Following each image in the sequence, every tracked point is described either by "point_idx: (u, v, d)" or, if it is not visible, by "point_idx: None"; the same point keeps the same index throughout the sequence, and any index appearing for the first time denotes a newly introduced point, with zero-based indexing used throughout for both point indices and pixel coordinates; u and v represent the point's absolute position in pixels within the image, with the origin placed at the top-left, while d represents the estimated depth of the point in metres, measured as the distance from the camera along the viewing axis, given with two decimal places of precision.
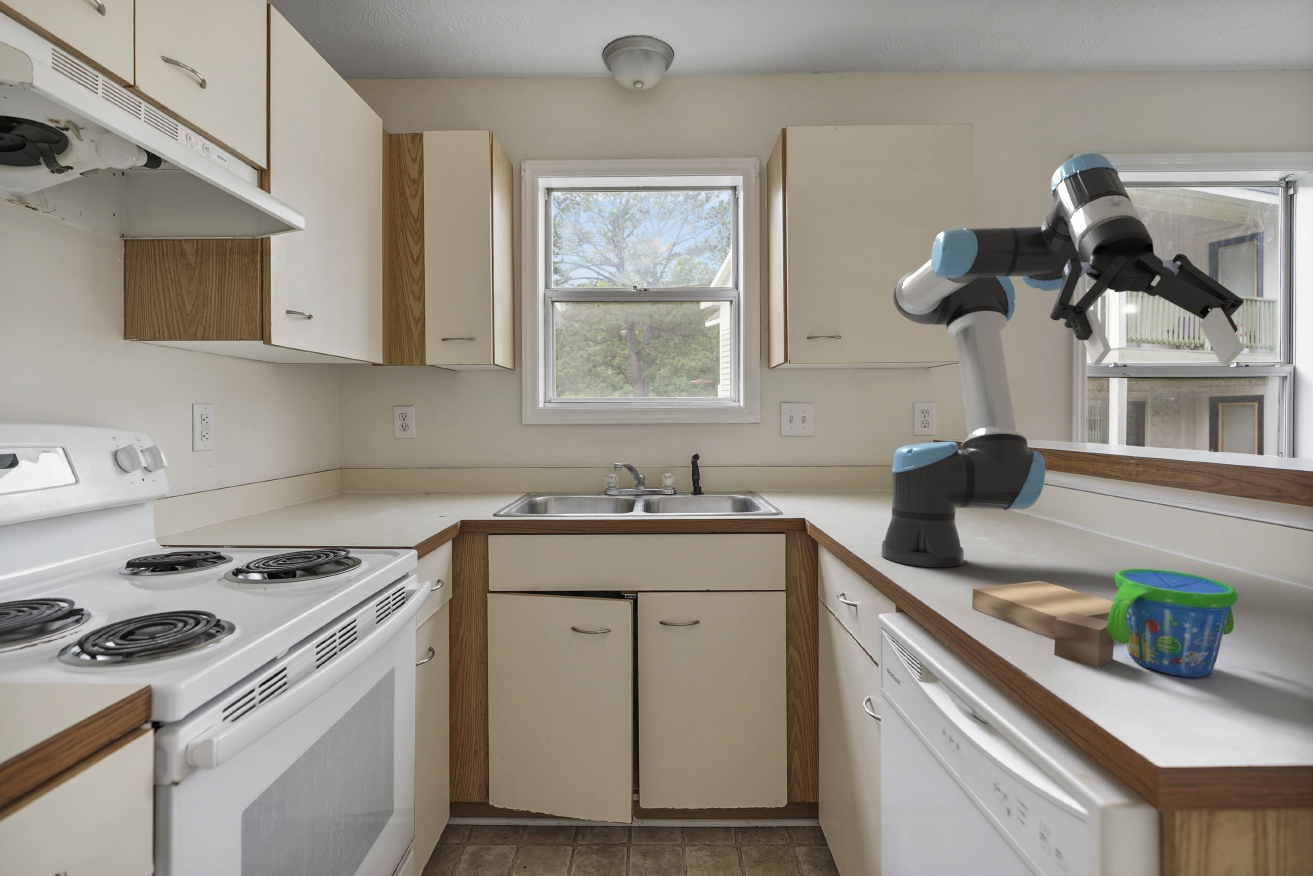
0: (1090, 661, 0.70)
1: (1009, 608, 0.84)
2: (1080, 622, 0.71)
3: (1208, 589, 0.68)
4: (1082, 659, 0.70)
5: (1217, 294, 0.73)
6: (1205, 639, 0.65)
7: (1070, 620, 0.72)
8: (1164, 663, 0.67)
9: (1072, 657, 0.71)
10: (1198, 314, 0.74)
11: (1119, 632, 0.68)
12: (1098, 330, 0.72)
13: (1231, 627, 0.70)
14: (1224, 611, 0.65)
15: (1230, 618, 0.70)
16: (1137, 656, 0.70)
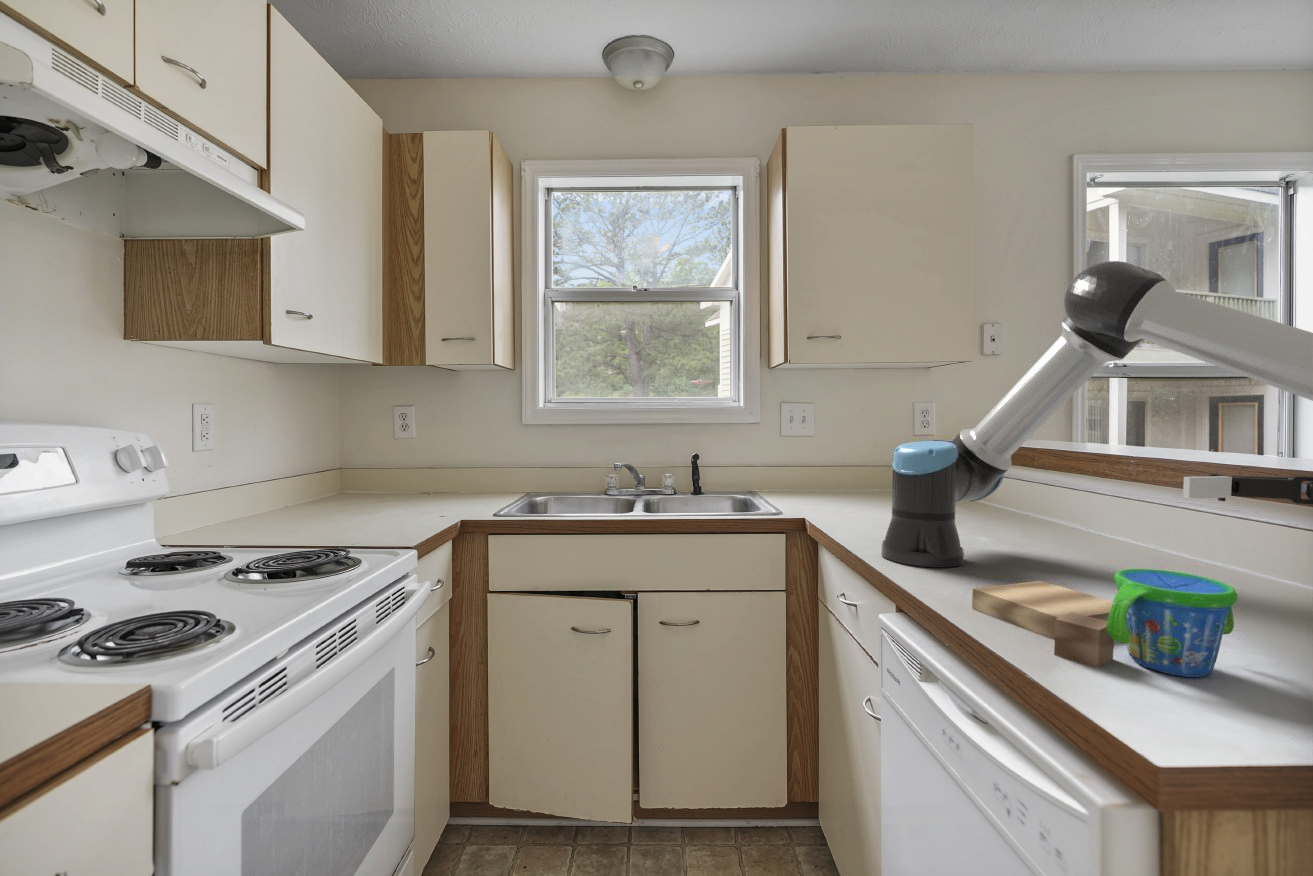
0: (1090, 661, 0.70)
1: (1009, 608, 0.84)
2: (1080, 622, 0.71)
3: (1208, 589, 0.68)
4: (1082, 659, 0.70)
5: None
6: (1205, 639, 0.65)
7: (1069, 621, 0.72)
8: (1164, 663, 0.67)
9: (1072, 657, 0.71)
10: (1238, 480, 0.78)
11: (1119, 632, 0.68)
12: None
13: (1231, 627, 0.70)
14: (1224, 611, 0.65)
15: (1230, 618, 0.70)
16: (1137, 656, 0.70)
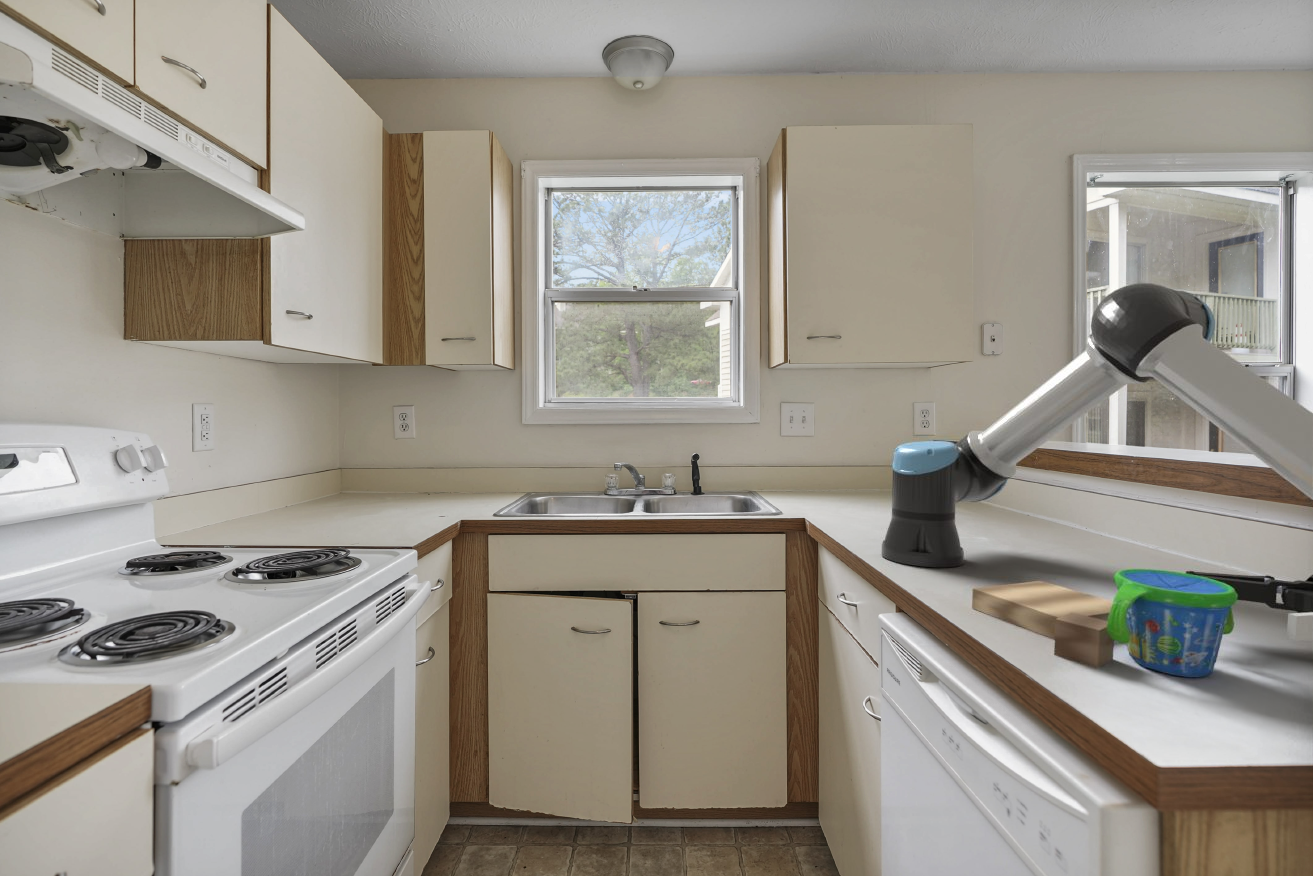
0: (1090, 661, 0.70)
1: (1009, 608, 0.84)
2: (1080, 622, 0.71)
3: (1208, 589, 0.68)
4: (1082, 659, 0.70)
5: None
6: (1205, 639, 0.65)
7: (1070, 620, 0.72)
8: (1164, 663, 0.67)
9: (1072, 657, 0.71)
10: None
11: (1119, 632, 0.68)
12: None
13: (1231, 627, 0.70)
14: (1224, 611, 0.65)
15: (1230, 618, 0.70)
16: (1137, 656, 0.70)
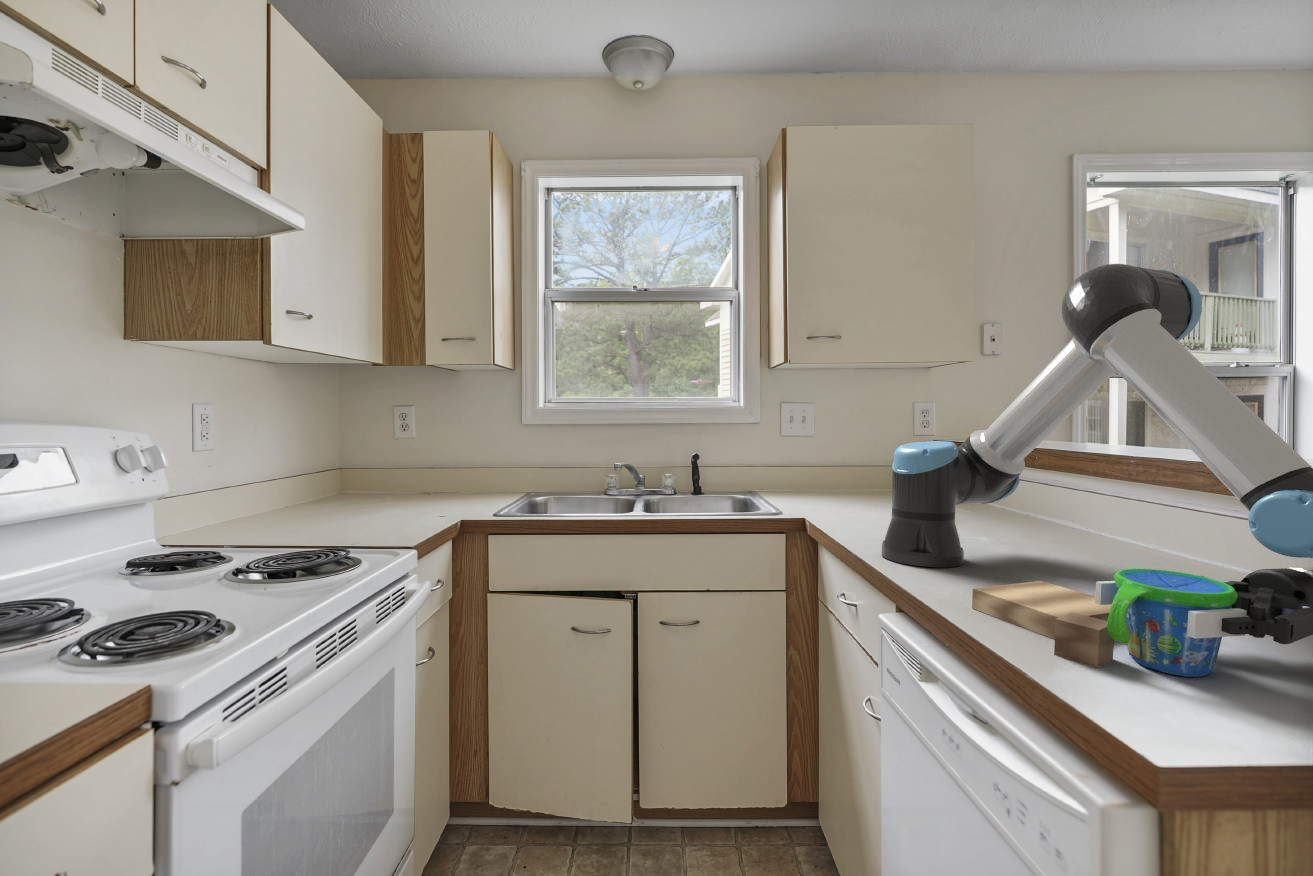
0: (1090, 661, 0.70)
1: (1009, 608, 0.84)
2: (1080, 622, 0.71)
3: (1208, 589, 0.68)
4: (1082, 659, 0.70)
5: None
6: (1205, 639, 0.65)
7: (1069, 620, 0.72)
8: (1165, 663, 0.67)
9: (1072, 657, 0.71)
10: None
11: (1119, 632, 0.68)
12: None
13: None
14: None
15: None
16: (1137, 656, 0.70)
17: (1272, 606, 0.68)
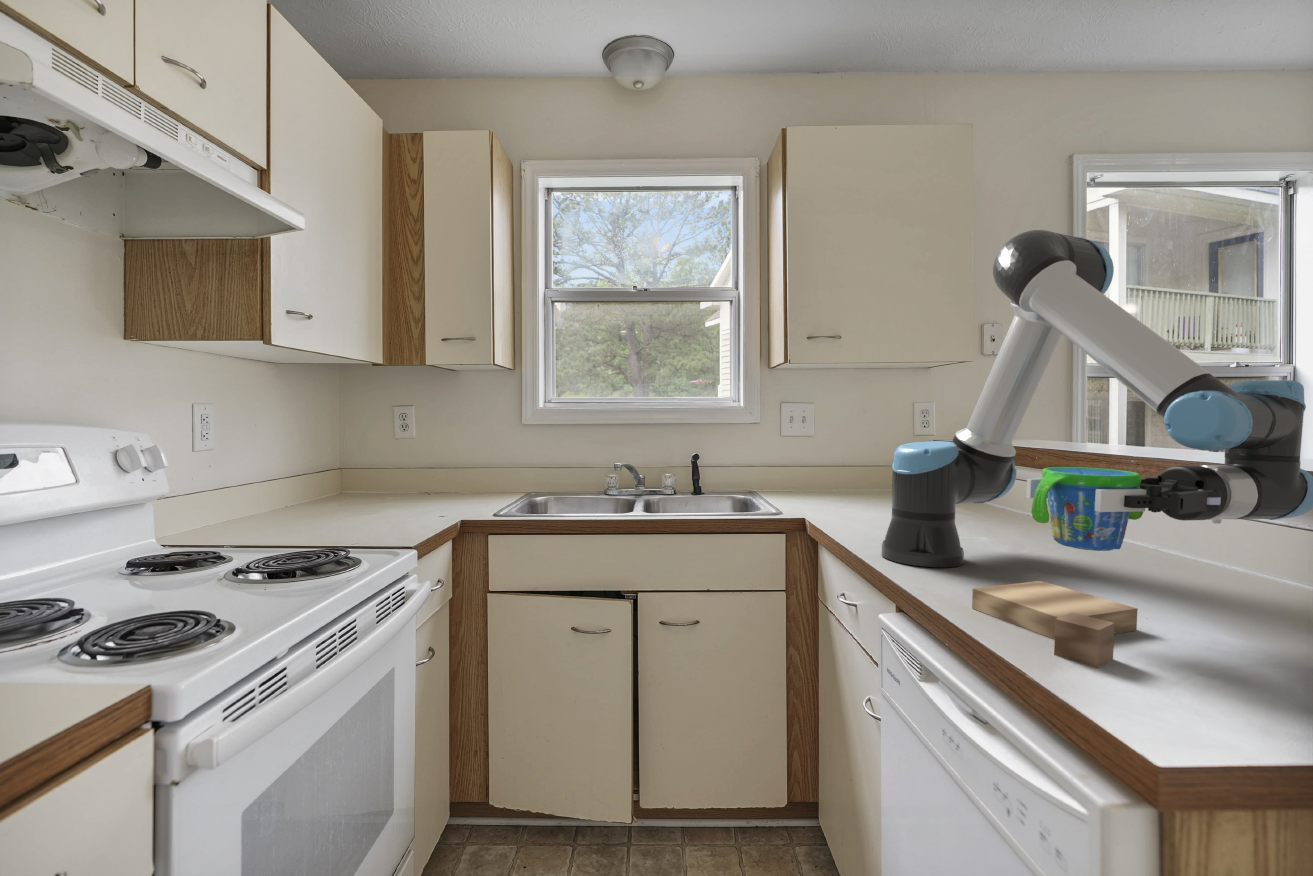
0: (1090, 661, 0.70)
1: (1009, 608, 0.84)
2: (1080, 622, 0.71)
3: None
4: (1082, 659, 0.70)
5: None
6: (1112, 516, 0.76)
7: (1069, 620, 0.72)
8: (1079, 539, 0.78)
9: (1072, 657, 0.71)
10: None
11: (1040, 513, 0.78)
12: None
13: (1141, 512, 0.80)
14: None
15: None
16: (1058, 537, 0.80)
17: (1174, 492, 0.79)
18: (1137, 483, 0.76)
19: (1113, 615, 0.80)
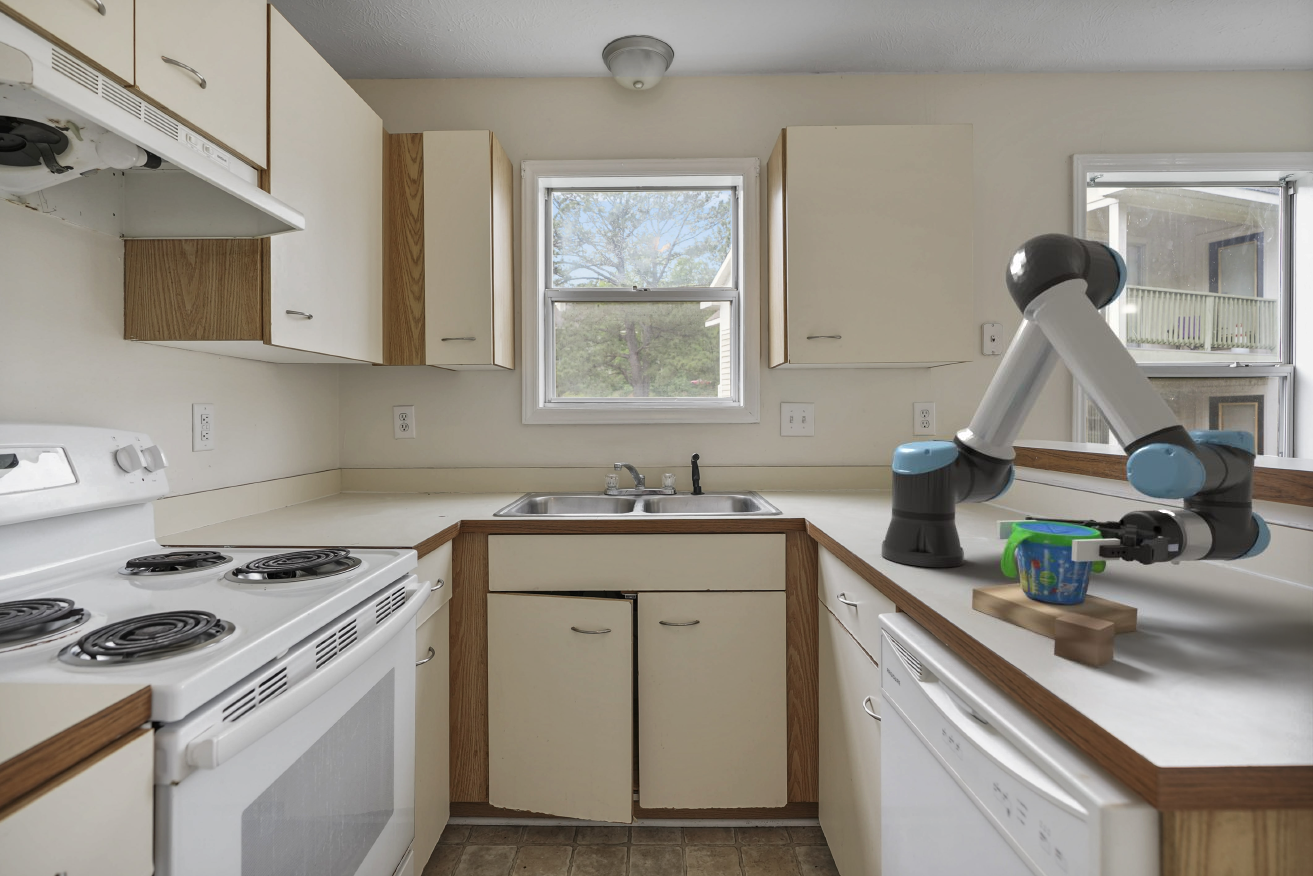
0: (1090, 661, 0.70)
1: (1009, 608, 0.84)
2: (1080, 622, 0.71)
3: (1081, 534, 0.83)
4: (1082, 659, 0.70)
5: None
6: (1075, 573, 0.81)
7: (1069, 620, 0.72)
8: (1045, 593, 0.83)
9: (1072, 657, 0.71)
10: None
11: (1009, 569, 0.83)
12: None
13: (1104, 566, 0.86)
14: None
15: None
16: (1026, 590, 0.85)
17: (1137, 538, 0.84)
18: None
19: (1113, 615, 0.80)
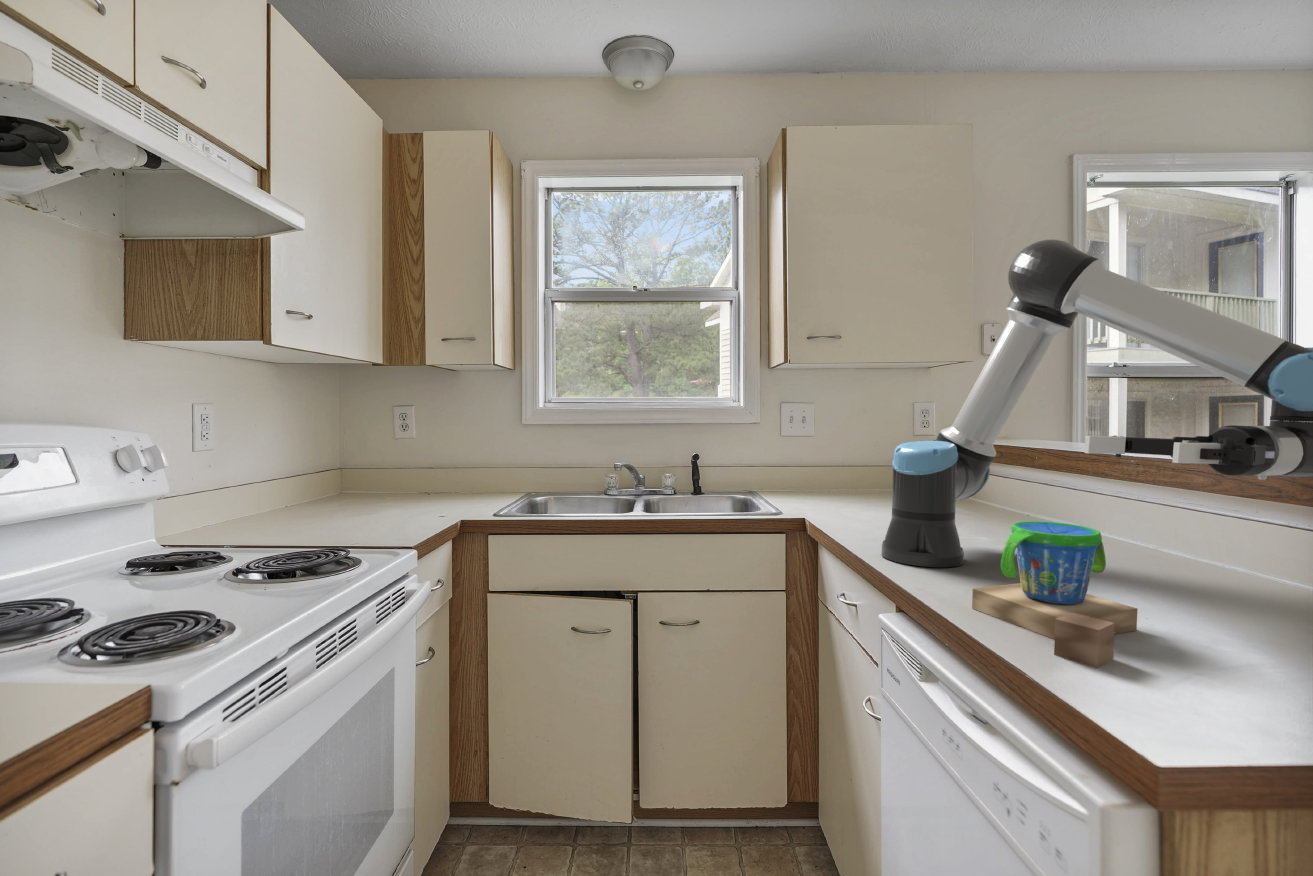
0: (1090, 661, 0.70)
1: (1009, 608, 0.84)
2: (1080, 622, 0.71)
3: (1081, 534, 0.83)
4: (1082, 659, 0.70)
5: None
6: (1075, 573, 0.81)
7: (1069, 620, 0.72)
8: (1045, 593, 0.83)
9: (1072, 657, 0.71)
10: (1131, 439, 0.94)
11: (1009, 569, 0.83)
12: None
13: (1103, 566, 0.86)
14: (1090, 550, 0.81)
15: (1103, 559, 0.86)
16: (1026, 590, 0.85)
17: None
18: (1098, 542, 0.81)
19: (1113, 615, 0.80)
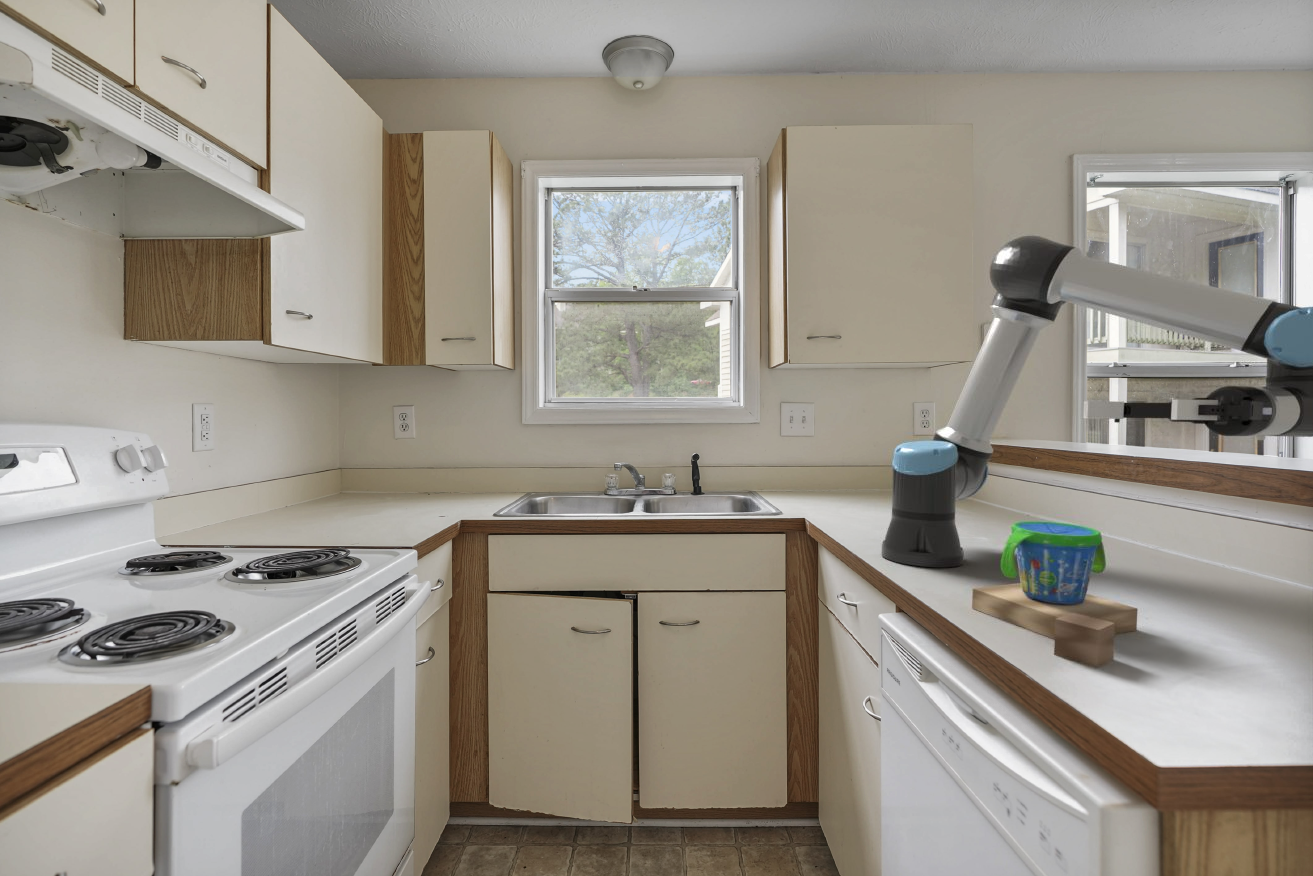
0: (1090, 661, 0.70)
1: (1009, 608, 0.84)
2: (1080, 622, 0.71)
3: (1081, 534, 0.83)
4: (1082, 659, 0.70)
5: None
6: (1075, 573, 0.81)
7: (1069, 620, 0.72)
8: (1045, 593, 0.83)
9: (1072, 657, 0.71)
10: (1129, 404, 0.95)
11: (1009, 569, 0.83)
12: (1193, 419, 0.81)
13: (1103, 566, 0.86)
14: (1090, 550, 0.81)
15: (1103, 559, 0.86)
16: (1026, 590, 0.85)
17: None
18: (1098, 542, 0.81)
19: (1113, 615, 0.80)
